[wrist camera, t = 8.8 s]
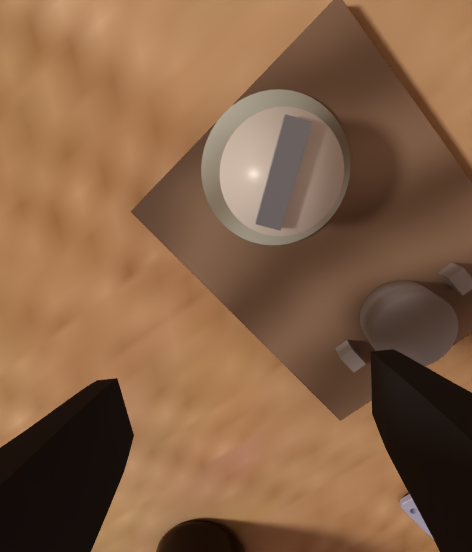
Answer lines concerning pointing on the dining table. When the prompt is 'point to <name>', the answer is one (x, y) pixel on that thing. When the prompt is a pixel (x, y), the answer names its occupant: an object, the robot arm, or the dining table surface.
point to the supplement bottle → (200, 539)
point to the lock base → (335, 223)
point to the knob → (281, 171)
